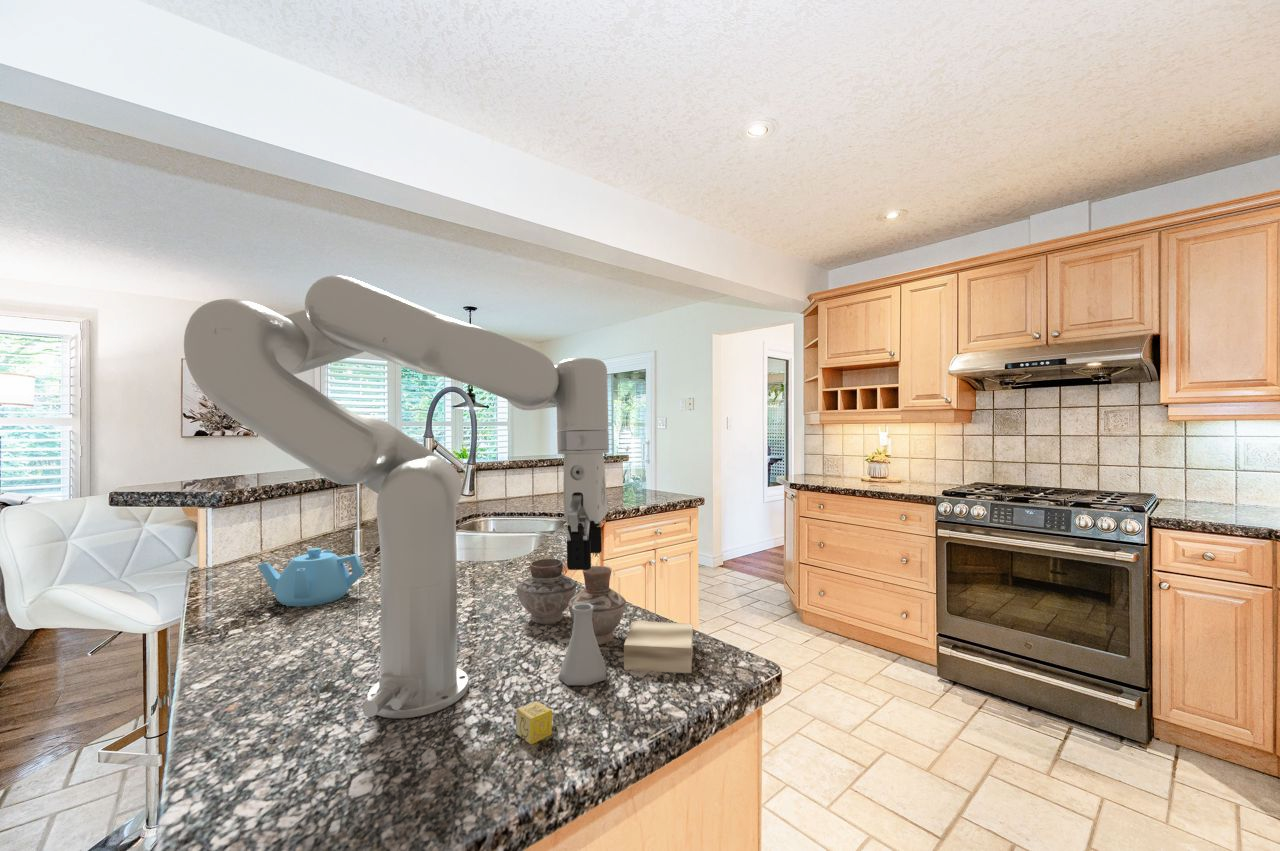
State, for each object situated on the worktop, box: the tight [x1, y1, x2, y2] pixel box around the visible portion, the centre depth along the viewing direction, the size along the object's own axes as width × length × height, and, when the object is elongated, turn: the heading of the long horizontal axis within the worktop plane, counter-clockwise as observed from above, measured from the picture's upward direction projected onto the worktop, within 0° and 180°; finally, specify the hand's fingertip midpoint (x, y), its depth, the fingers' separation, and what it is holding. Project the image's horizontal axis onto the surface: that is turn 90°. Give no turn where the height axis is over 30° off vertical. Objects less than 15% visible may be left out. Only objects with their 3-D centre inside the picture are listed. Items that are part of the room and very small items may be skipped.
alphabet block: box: [515, 700, 553, 745], centre depth 61 cm, size 3×3×3 cm
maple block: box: [623, 620, 694, 674], centre depth 82 cm, size 10×10×4 cm
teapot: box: [257, 547, 365, 607], centre depth 112 cm, size 15×15×11 cm
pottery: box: [516, 558, 627, 645], centre depth 94 cm, size 11×25×12 cm, turn 47°
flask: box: [557, 604, 608, 686], centre depth 75 cm, size 7×7×10 cm
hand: (585, 560), depth 76 cm, fingers open, 9 cm apart
